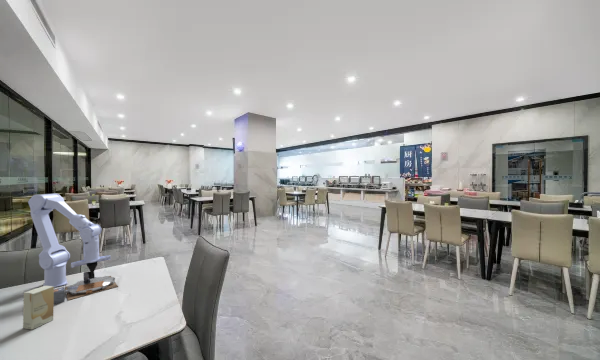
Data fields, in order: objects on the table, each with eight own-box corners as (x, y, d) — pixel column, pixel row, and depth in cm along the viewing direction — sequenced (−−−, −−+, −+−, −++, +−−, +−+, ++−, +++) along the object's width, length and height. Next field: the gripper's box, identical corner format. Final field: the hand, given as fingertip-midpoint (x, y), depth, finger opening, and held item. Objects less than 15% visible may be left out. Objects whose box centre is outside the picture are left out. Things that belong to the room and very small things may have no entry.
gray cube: (43, 304, 97) (43, 291, 97) (64, 298, 102) (63, 286, 102) (43, 307, 95) (43, 295, 95) (64, 302, 99) (64, 289, 99)
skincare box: (31, 330, 80) (31, 294, 80) (22, 328, 81) (21, 293, 81) (55, 319, 87) (54, 285, 87) (45, 317, 88) (45, 284, 87)
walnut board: (65, 287, 112) (65, 286, 112) (110, 276, 125) (110, 275, 125) (67, 300, 100) (67, 299, 100) (118, 286, 113) (118, 286, 113)
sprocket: (53, 294, 104) (53, 281, 104) (91, 277, 122) (91, 266, 122) (91, 295, 103) (91, 283, 103) (124, 278, 121) (124, 267, 121)
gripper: (71, 255, 108) (72, 285, 108) (111, 248, 119) (112, 275, 119) (70, 252, 113) (70, 281, 113) (109, 245, 123) (109, 271, 124)
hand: (92, 278), depth 116 cm, fingers closed, pressing on sprocket
